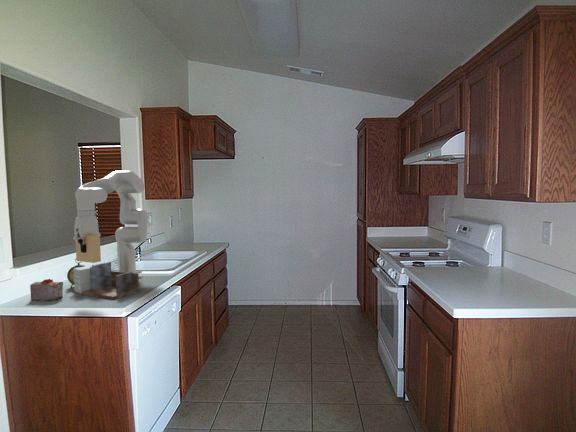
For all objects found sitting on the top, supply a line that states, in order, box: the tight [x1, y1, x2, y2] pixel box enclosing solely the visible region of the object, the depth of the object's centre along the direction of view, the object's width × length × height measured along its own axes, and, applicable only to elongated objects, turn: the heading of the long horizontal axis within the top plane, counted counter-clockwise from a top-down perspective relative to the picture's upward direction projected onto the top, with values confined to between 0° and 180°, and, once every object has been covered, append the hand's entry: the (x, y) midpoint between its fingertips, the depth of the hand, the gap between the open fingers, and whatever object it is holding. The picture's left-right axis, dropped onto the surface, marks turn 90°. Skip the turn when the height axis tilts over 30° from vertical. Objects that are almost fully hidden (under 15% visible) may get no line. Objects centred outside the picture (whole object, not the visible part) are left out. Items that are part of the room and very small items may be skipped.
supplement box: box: [74, 265, 91, 295], centre depth 193 cm, size 7×7×13 cm
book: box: [75, 234, 102, 264], centre depth 177 cm, size 4×12×13 cm, turn 65°
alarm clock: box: [66, 258, 86, 288], centre depth 203 cm, size 11×5×16 cm, turn 106°
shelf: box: [82, 261, 140, 301], centre depth 189 cm, size 16×22×14 cm
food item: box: [29, 278, 64, 302], centre depth 179 cm, size 14×8×10 cm, turn 92°
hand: (88, 251), depth 177 cm, fingers closed on book, 4 cm apart
